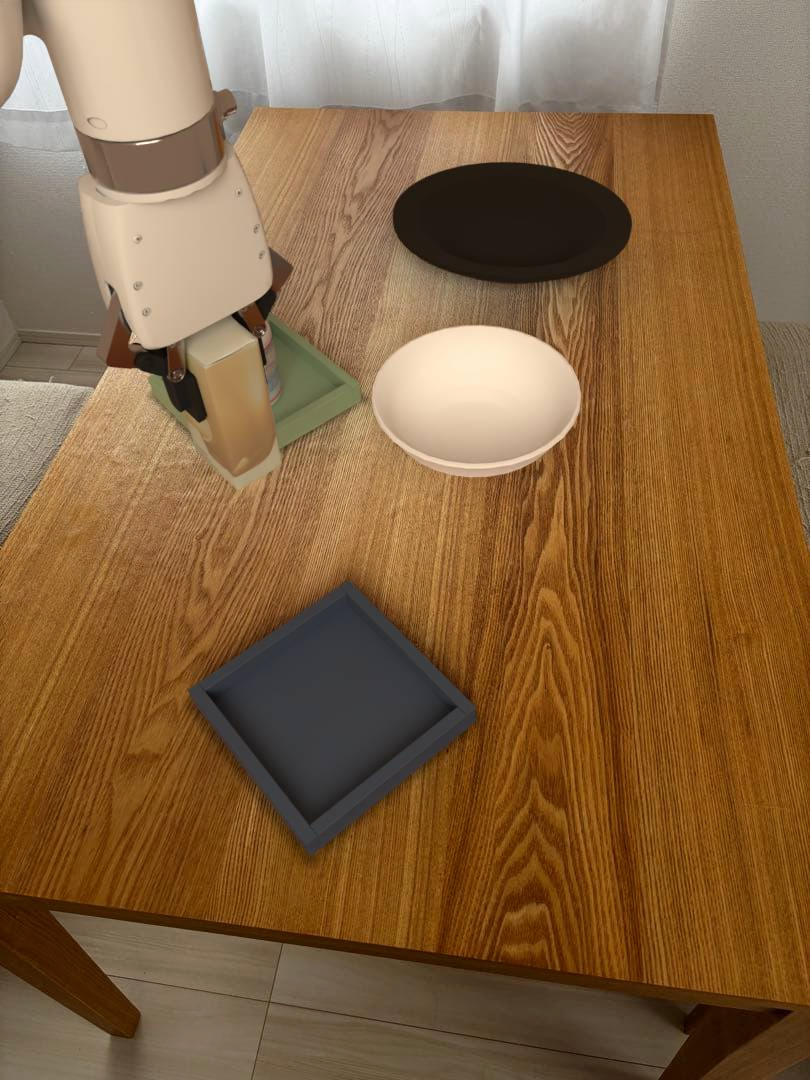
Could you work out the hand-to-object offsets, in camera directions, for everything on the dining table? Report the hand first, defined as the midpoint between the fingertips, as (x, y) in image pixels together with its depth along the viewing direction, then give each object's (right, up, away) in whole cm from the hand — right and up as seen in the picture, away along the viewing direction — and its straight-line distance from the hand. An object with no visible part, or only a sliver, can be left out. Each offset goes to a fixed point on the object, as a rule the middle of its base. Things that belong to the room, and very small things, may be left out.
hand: (222, 392), depth 61 cm
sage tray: (-3, +5, +31) cm, 31 cm away
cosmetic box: (0, -4, +6) cm, 7 cm away
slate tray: (+7, -24, +7) cm, 26 cm away
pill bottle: (-3, +5, +31) cm, 31 cm away
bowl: (+20, 0, +26) cm, 33 cm away
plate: (+26, +24, +45) cm, 57 cm away
